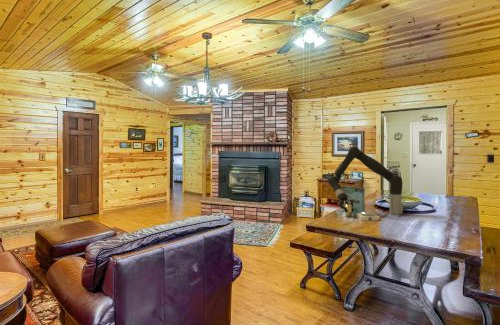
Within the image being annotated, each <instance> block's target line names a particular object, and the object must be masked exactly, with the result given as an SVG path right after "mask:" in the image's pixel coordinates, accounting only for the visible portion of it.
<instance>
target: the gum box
mask: <svg viewBox="0 0 500 325" xmlns="http://www.w3.org/2000/svg"><path fill="white" fill-rule="evenodd" d="M341 187H342V189H343V191H344V192H345V194H346V196H347V198H348V200H349V201H351V200H352V202H353V205H354V206H353V207H352V208H353V210H354V211H353V212H352V214H355V215H356V213H360V211H364V210H365V199H366V198H365V195H366V194H365V190H366V189H365V187H357V186H349V185H347V186H346V185H343V186H341ZM341 212H345V210H344V209H343V208H342V210H341Z"/></svg>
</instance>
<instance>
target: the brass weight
mask: <svg viewBox="0 0 500 325" xmlns="http://www.w3.org/2000/svg"><path fill="white" fill-rule="evenodd" d="M345 206H346V208H347V210H348V212H347V213H346V212H345V214H344V215H345V217H346V218H352V216H353V213H352V205H351V204H346V205H345Z"/></svg>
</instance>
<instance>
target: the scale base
mask: <svg viewBox="0 0 500 325" xmlns="http://www.w3.org/2000/svg"><path fill="white" fill-rule="evenodd" d="M355 217H356V218H357V219H358V220H360V221H364V222H365V221H379V220H380V216H378V215H377V214H376V213H375V214H372V215H366V214H361V213H356V214H355Z"/></svg>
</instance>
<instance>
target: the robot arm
mask: <svg viewBox="0 0 500 325" xmlns="http://www.w3.org/2000/svg"><path fill="white" fill-rule="evenodd" d="M354 159H356V160H358V161H360V162H361V163H362V164H363V165H364V166H365V167H366V168H367V169H369V170H370V171H371V172H374V173H375V174H377V175H379V176H381V177H383V178H384V179H385V180H386V181H387V182H388V183H389V186H390V188H389V214H390V215H395V216H396V215H397V216H400V215H403V213H404V212H403V207H404V204H403V201H402V197H403V196H402V195H403V194H402V193H403V192H402V191H403V179H402V177H401V176H400V175H398V174H396V173H394V172H392V171H391V170H389V169H387V168H386V167H385V165H383V164H382V163H381V162H379V161H377V159H375V158H372V157H371V156H370V155H367V154H365V152H363V151H361V149H359V147H358V146H355V145H354V146H350V147H349V148H348V152H347V154H346V156H345V158H344V159H343V160H342V162H340V163H339V165H338V166H337V168H336V169H335V171H334V174H335V175H330V176H328V177H327V182H328V184H329V185H330V187H331V188H332V189H333V191H334V193H335V196H336V198H337V200H338V202H337V205H338V207H339V208H340V209H342V208H343V209H344V210H345V212H346V213H347V212H348V210H347V208H346V206H345V205H346V204H351V205H352V207H353V206H354V205H353V202H352V200H351V201H349V200H348V198H347V196H346V194H345V192H344V191H343V189H342V186H341V184H339V183H340V181H341V178H342V176H343V175H344V173H345V171H347V169H348V167H349V166H350V164H351V163H352V161H353V160H354ZM353 211H354V210H353V208H352V212H353Z"/></svg>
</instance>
